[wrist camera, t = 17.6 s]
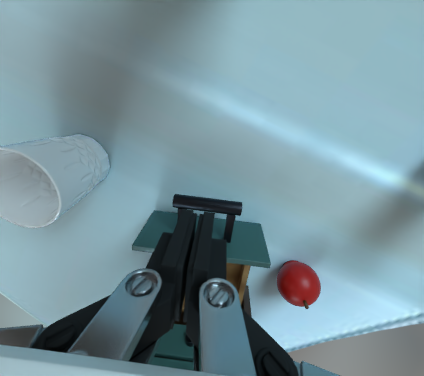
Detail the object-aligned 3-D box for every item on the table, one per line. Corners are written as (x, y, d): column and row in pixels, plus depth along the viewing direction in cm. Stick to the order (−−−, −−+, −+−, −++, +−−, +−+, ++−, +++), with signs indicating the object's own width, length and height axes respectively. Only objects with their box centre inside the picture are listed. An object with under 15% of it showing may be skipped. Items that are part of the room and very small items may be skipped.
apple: (265, 268, 33) (274, 307, 27) (294, 247, 31) (311, 284, 25) (290, 287, 35) (303, 329, 28) (319, 268, 33) (341, 309, 26)
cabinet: (152, 265, 35) (98, 389, 20) (249, 278, 34) (266, 413, 20) (153, 333, 42) (113, 460, 27) (233, 344, 42) (237, 479, 27)
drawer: (153, 175, 28) (129, 202, 21) (268, 190, 28) (282, 222, 21) (154, 287, 36) (137, 334, 29) (242, 299, 36) (246, 349, 29)
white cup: (125, 175, 29) (78, 213, 19) (79, 194, 30) (16, 237, 21) (91, 118, 26) (17, 132, 17) (43, 143, 28) (-49, 167, 18)
